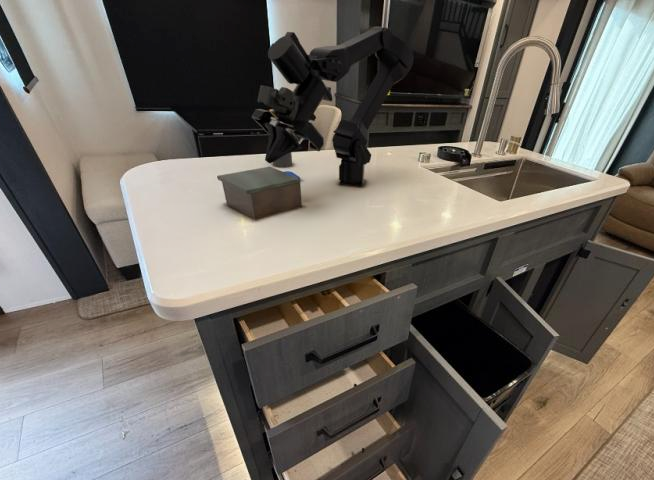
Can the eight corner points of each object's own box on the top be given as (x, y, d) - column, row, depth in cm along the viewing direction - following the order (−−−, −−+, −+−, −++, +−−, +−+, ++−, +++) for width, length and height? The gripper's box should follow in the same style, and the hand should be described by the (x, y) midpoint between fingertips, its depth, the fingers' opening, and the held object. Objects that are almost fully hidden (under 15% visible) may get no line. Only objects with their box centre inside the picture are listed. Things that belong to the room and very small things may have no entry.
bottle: (289, 168, 100) (285, 112, 91) (270, 166, 99) (264, 110, 90) (294, 163, 104) (290, 110, 95) (276, 161, 104) (270, 108, 95)
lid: (247, 194, 64) (246, 190, 64) (217, 179, 70) (216, 175, 69) (300, 182, 73) (300, 178, 72) (270, 169, 78) (269, 166, 78)
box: (255, 220, 68) (250, 193, 65) (226, 204, 73) (221, 178, 70) (302, 206, 76) (300, 182, 73) (273, 193, 81) (270, 169, 78)
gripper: (252, 64, 68) (214, 127, 68) (309, 74, 59) (266, 145, 59) (287, 106, 78) (253, 160, 78) (340, 119, 69) (303, 181, 69)
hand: (267, 161), depth 70 cm, fingers closed
